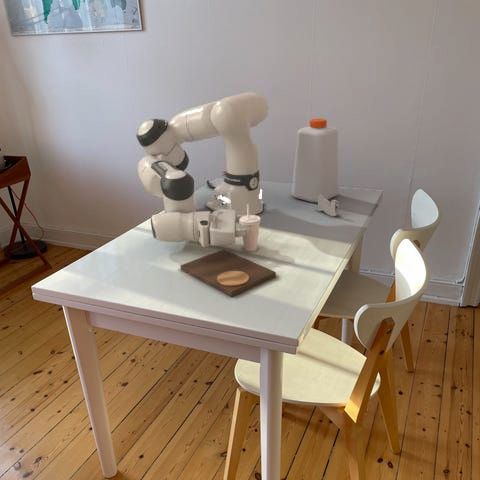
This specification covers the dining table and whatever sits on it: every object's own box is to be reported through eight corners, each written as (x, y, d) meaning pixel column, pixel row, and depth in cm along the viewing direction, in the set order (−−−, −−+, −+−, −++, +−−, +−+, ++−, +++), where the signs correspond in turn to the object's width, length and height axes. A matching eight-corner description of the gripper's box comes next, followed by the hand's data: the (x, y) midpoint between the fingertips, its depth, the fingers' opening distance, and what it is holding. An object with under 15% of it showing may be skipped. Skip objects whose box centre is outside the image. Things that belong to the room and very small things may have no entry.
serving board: (180, 270, 140) (180, 263, 139) (224, 253, 149) (223, 247, 148) (231, 296, 126) (230, 290, 125) (275, 277, 135) (275, 270, 134)
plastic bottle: (341, 195, 193) (347, 118, 179) (319, 205, 184) (323, 125, 170) (310, 188, 202) (313, 114, 188) (287, 197, 193) (288, 120, 178)
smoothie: (239, 245, 154) (237, 201, 147) (259, 244, 155) (259, 200, 147) (241, 253, 149) (239, 208, 141) (262, 252, 149) (262, 207, 142)
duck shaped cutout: (320, 210, 180) (339, 217, 172) (317, 211, 179) (336, 218, 172) (321, 194, 177) (340, 201, 169) (318, 195, 176) (337, 202, 169)
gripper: (207, 224, 159) (251, 223, 158) (203, 249, 141) (251, 248, 141) (206, 204, 155) (250, 203, 155) (201, 228, 138) (251, 227, 137)
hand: (251, 225), depth 148 cm, fingers open, 8 cm apart
